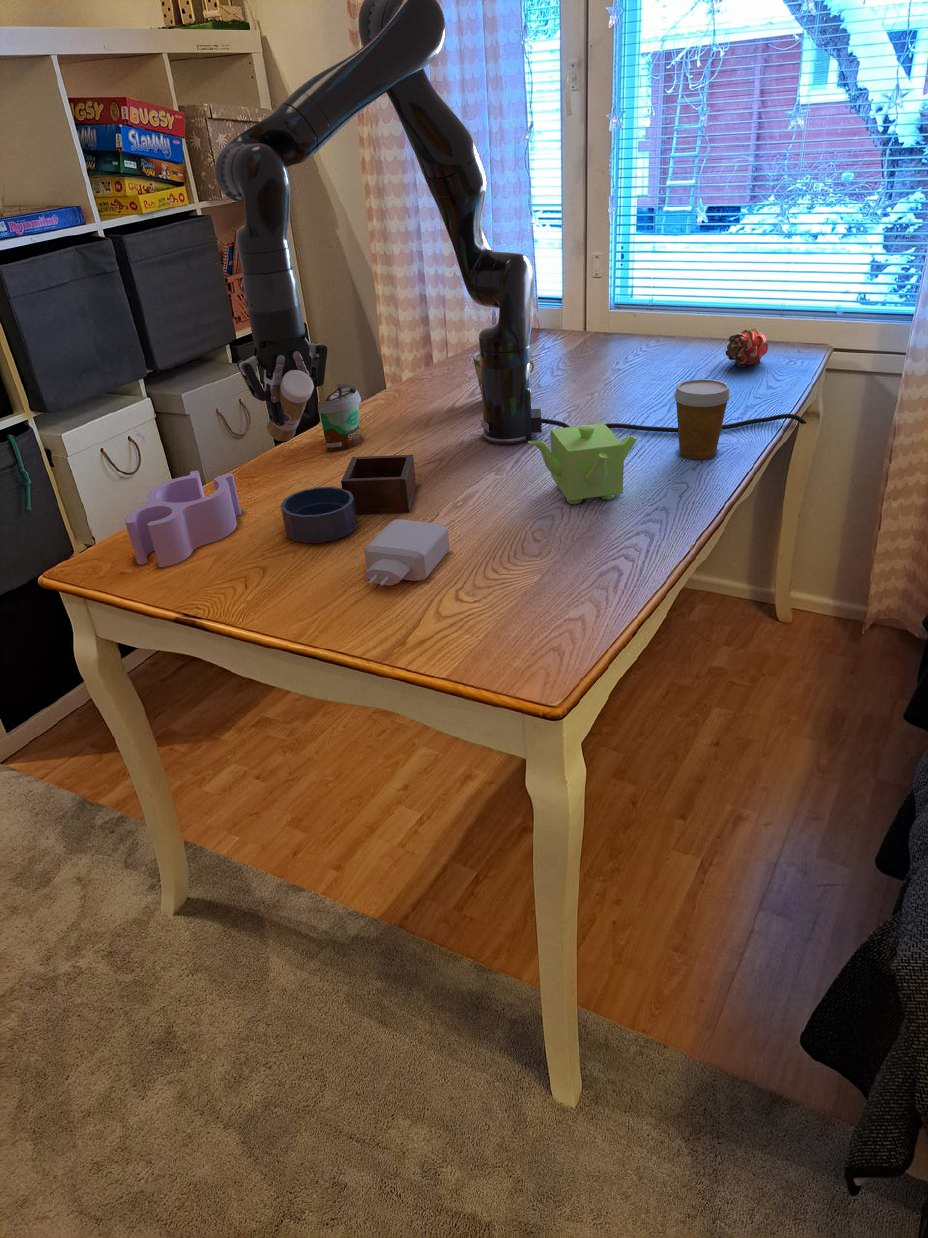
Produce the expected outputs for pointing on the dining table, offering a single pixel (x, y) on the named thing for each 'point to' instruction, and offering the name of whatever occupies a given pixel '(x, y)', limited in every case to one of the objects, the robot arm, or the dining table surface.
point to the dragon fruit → (747, 347)
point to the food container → (341, 418)
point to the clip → (182, 518)
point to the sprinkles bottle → (291, 403)
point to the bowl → (319, 514)
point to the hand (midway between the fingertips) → (294, 420)
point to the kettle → (586, 461)
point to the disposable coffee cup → (700, 416)
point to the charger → (405, 551)
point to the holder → (381, 483)
